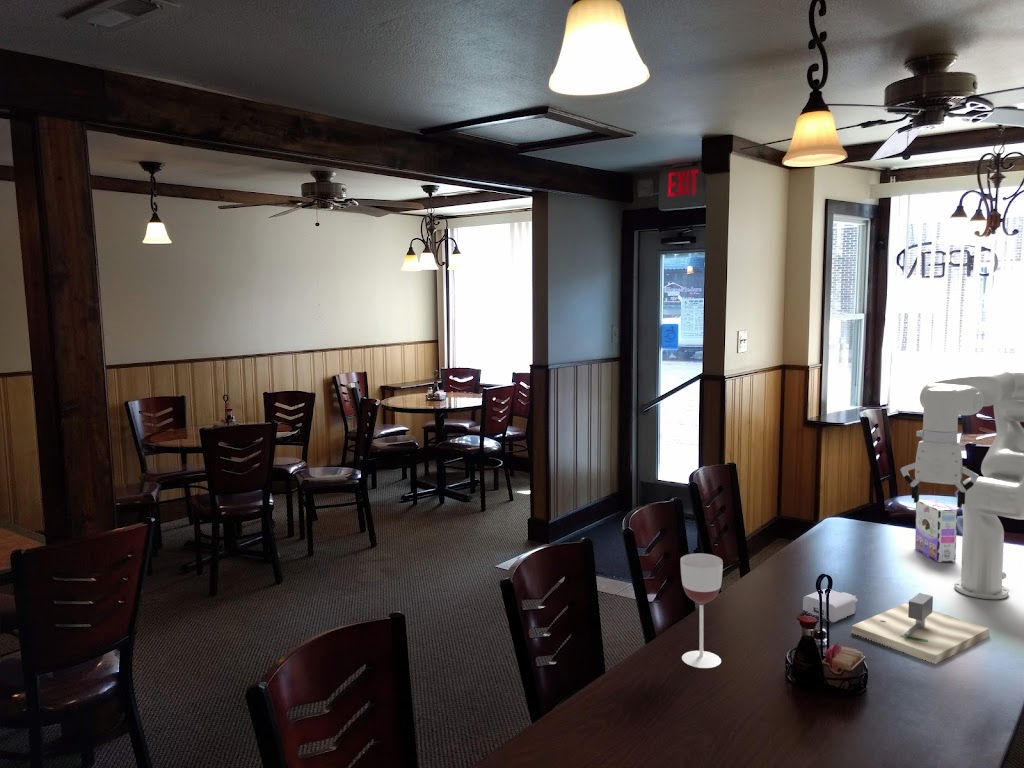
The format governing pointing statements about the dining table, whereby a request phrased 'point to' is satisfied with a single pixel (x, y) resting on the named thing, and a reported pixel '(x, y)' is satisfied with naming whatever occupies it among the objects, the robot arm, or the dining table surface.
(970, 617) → the dining table surface
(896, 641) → the wooden cutting board
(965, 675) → the dining table surface
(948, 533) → the candy box
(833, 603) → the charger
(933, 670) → the dining table surface
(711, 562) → the wineglass
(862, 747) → the dining table surface
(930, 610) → the key
